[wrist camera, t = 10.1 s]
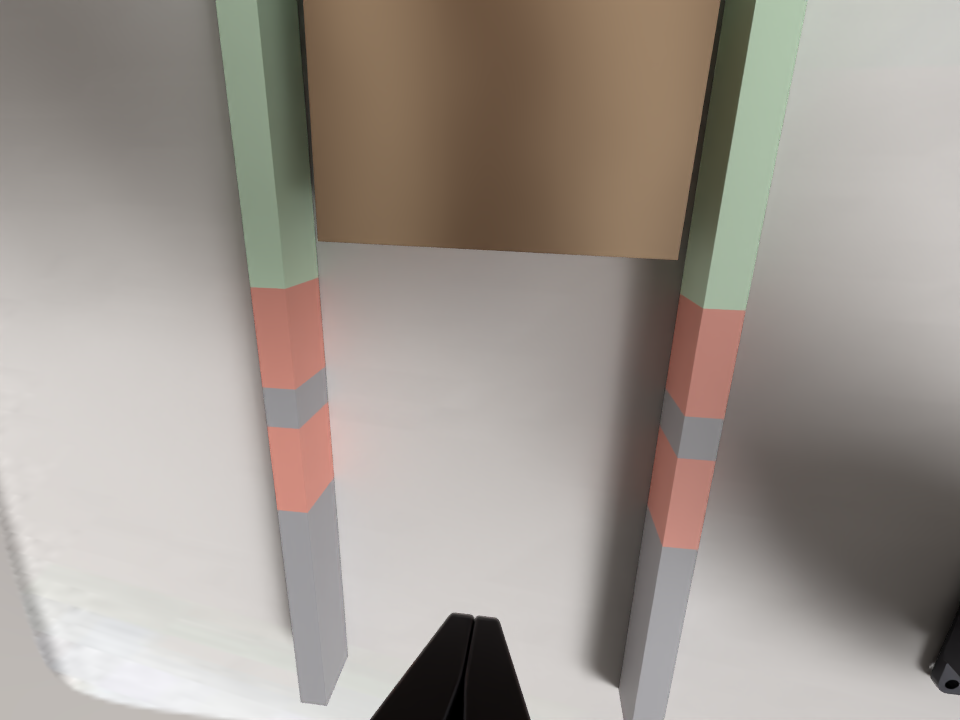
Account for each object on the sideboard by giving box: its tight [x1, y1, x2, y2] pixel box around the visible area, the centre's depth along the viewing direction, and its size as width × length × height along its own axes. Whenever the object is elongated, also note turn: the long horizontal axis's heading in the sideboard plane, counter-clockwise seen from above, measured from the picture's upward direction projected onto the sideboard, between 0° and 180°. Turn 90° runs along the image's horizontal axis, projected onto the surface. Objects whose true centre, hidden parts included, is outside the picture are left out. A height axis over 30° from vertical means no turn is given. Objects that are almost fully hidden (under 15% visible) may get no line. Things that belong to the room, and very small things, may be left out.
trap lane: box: [215, 0, 808, 720], centre depth 17 cm, size 15×29×3 cm, turn 178°
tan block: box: [303, 0, 721, 260], centre depth 14 cm, size 10×7×4 cm
